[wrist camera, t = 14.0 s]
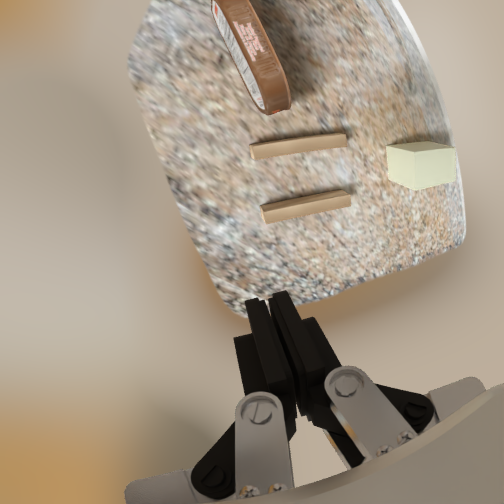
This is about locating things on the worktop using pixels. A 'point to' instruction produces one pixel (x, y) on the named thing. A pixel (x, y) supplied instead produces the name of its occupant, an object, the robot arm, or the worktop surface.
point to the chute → (307, 203)
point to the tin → (252, 54)
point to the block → (421, 164)
